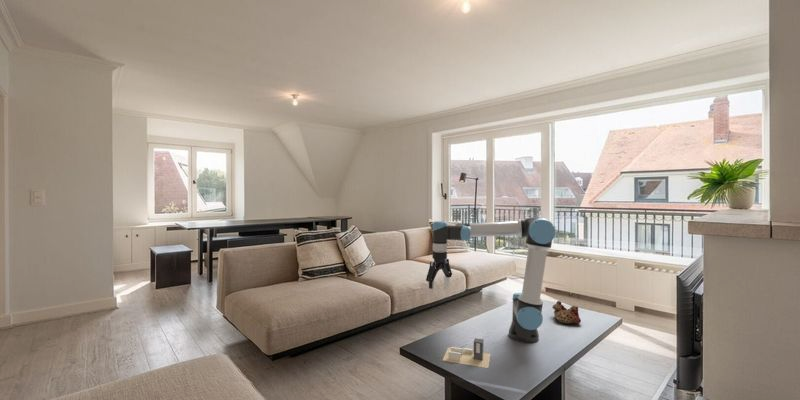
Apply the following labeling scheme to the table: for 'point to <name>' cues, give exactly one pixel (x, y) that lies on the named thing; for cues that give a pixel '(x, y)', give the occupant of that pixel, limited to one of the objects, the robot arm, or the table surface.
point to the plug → (478, 349)
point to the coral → (566, 313)
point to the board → (466, 357)
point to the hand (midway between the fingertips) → (439, 291)
